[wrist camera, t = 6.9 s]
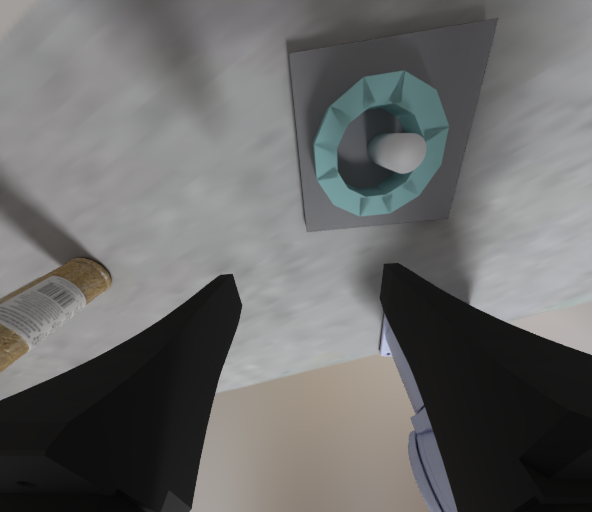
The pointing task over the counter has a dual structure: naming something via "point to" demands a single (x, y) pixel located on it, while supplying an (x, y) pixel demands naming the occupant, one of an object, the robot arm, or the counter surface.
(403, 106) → the ring
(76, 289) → the sprinkles bottle
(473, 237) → the counter surface
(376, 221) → the pin board
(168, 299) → the counter surface
